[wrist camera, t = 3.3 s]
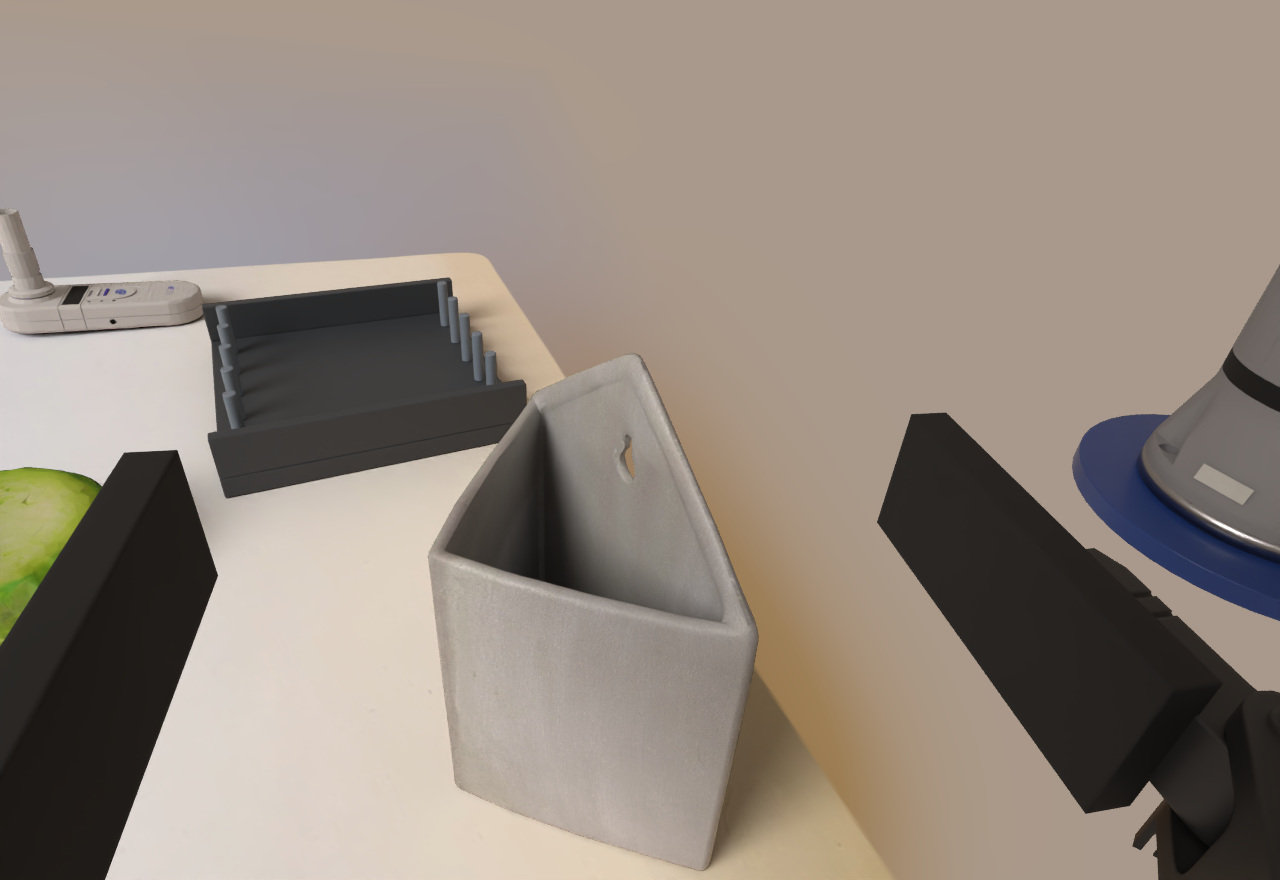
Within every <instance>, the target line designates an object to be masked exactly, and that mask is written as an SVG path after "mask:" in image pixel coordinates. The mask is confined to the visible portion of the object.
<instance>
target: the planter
mask: <svg viewBox="0 0 1280 880" xmlns="http://www.w3.org/2000/svg"><path fill="white" fill-rule="evenodd" d="M631 439H632V458H633V462H634V468H635V477H634V478H633V477H632V475H631V474H630V472H629V470H628V467H627V464H626V460H625V452H626V450H627V449H628V448H629V447H630V441H631ZM428 561H429V569H430V577H431V585H432V593H433V602H434V611H435V619H436V628H437V637H438V645H439V654H440V662H441V671H442V680H443V688H444V696H445V704H446V712H447V719H448V727H449V735H450V743H451V751H452V759H453V768H454V777H455V783H456V785H457V787H459V788H460V789H462V790H464V791H467V792H469V793H471V794H473V795H476V796H478V797H480V798H483V799H485V800H487V801H489V802H492V803H494V804H496V805H499V806H501V807H503V808H505V809H508V810H510V811H512V812H515V813H518V814H521V815H524V816H526V817H529V818H532V819H535V820H538V821H541V822H544V823H546V824H549V825H552V826H555V827H558V828H561V829H564V830H566V831H569V832H572V833H575V834H578V835H581V836H583V837H587V838H590V839H593V840H597V841H600V842H603V843H607V844H610V845H613V846H617V847H620V848H623V849H627V850H630V851H633V852H637V853H640V854H643V855H647V856H650V857H653V858H657V859H660V860H664V861H667V862H671V863H674V864H678V865H681V866H685V867H688V868H692V869H695V870H699V871H703V870H705V869H706V868H707V867H708V866H709V864H710V860H711V856H712V851H713V847H714V843H715V838H716V834H717V829H718V825H719V821H720V816H721V812H722V807H723V803H724V799H725V794H726V790H727V785H728V781H729V776H730V772H731V768H732V763H733V759H734V754H735V750H736V746H737V741H738V737H739V732H740V728H741V723H742V719H743V715H744V710H745V706H746V701H747V697H748V692H749V688H750V684H751V679H752V674H753V668H754V662H755V656H756V651H757V645H758V632H757V631H758V630H757V626H756V623H755V620H754V617H753V615H752V613H751V610H750V608H749V606H748V603H747V601H746V598H745V596H744V594H743V592H742V589H741V587H740V584H739V582H738V579H737V577H736V574H735V572H734V569H733V566H732V564H731V562H730V559H729V556H728V554H727V551H726V549H725V547H724V544H723V541H722V539H721V536H720V534H719V532H718V529H717V526H716V524H715V522H714V519H713V517H712V515H711V513H710V510H709V508H708V506H707V503H706V501H705V499H704V496H703V494H702V492H701V490H700V487H699V485H698V483H697V480H696V478H695V476H694V473H693V471H692V469H691V466H690V464H689V462H688V459H687V457H686V455H685V452H684V450H683V448H682V446H681V443H680V441H679V439H678V436H677V434H676V432H675V429H674V427H673V425H672V422H671V420H670V418H669V416H668V413H667V411H666V409H665V407H664V404H663V402H662V399H661V397H660V395H659V393H658V390H657V388H656V386H655V384H654V382H653V379H652V377H651V375H650V373H649V371H648V369H647V367H646V365H645V363H644V361H643V359H642V358H641V356H640V355H638V354H635V353H630V354H626V355H623V356H620V357H618V358H615V359H613V360H610V361H607V362H605V363H602V364H600V365H597V366H595V367H592V368H590V369H587V370H584V371H582V372H579V373H577V374H574V375H572V376H570V377H567V378H565V379H563V380H561V381H559V382H557V383H555V384H553V385H550V386H548V387H545V388H543V389H541V390H538V391H537V392H536V393H535V394H534V395H533V397H532V398H531V399H530V401H529V402H528V404H527V405H526V407H525V408H524V410H523V411H522V413H521V414H520V415H519V417H518V418H517V420H516V421H515V422H514V423H513V425H512V426H511V427H510V429H509V430H508V431H507V433H506V434H505V435H504V437H503V438H502V439H501V441H500V442H499V443H498V445H497V446H496V447H495V449H494V450H493V451H492V452H491V454H490V455H489V456H488V458H487V459H486V461H485V462H484V464H483V465H482V466H481V468H480V469H479V471H478V472H477V474H476V475H475V476H474V478H473V479H472V481H471V482H470V484H469V485H468V486H467V488H466V489H465V491H464V492H463V494H462V495H461V496H460V498H459V499H458V501H457V502H456V504H455V505H454V507H453V509H452V511H451V513H450V514H449V516H448V518H447V520H446V522H445V524H444V525H443V527H442V529H441V531H440V533H439V535H438V536H437V538H436V540H435V542H434V544H433V545H432V547H431V549H430V551H429V555H428Z"/></svg>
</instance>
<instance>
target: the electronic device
mask: <svg viewBox="0 0 1280 880" xmlns="http://www.w3.org/2000/svg"><path fill="white" fill-rule="evenodd" d="M0 242H1V245H2V248H3V251H2V253H3V256H4V258H5V261H6V264H7V266H8V269H9V271H10V274H12V280H13V282H14V285H13V286H11V287H10V288H9V289H8V292H6V293H4V294H3V295H1V296H0V318H1V320H2V323H3V326H4V327H5V328H6V329H8V330H10V331H12V332H16V333H28V334H33V333H50V332H66V331H67V332H68V331H85V330H102V329H119V328H136V327H146V326H163V325H167V326H170V325H179V324H184V323H188V322H191V321H193V320H196V319H198V318H199V317H201V316H202V315H203V310H202V304H204V302H203V298H202V294H201V290H200V288H199V287H198V286H197V285H195V284H193V283H190V282H185V281H153V282H151V281H150V282H127V283H101V284H77V285H53V284H52V283H50V282H47V281H44V280H43V277H42V274H41V273H40V272H39V271H40V268H39V265H38V262H37V259H36V256H35V253H34V251H33V248H32V247H30V244H29V242H28V238H27V235H26V233H25V230H24V227H23V224H22V221H21V218H20V215H19V212H18V211H17V210H16V209H9V208H8V209H0Z"/></svg>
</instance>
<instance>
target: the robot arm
mask: <svg viewBox="0 0 1280 880" xmlns="http://www.w3.org/2000/svg"><path fill="white" fill-rule="evenodd" d="M1137 468H1138V472H1139V474H1140V476H1141V479H1142V480H1143V482H1144V483H1145V485H1146V486H1147V487H1148V489H1149V490H1150V491H1151V492H1152V493H1153V494H1154V495H1155V496H1156V497H1157V499H1159V500H1160V501H1161V502H1162V503H1163V504H1164V505H1165V506H1166V507H1168V508H1169V509H1170V510H1171V511H1173V512H1174V513H1175V514H1177V515H1178V516H1179V517H1181V518H1182V519H1184V520H1185V521H1187V522H1188V523H1190V524H1191V525H1193V526H1195V527H1196V528H1198V529H1200V530H1201V531H1203V532H1205V533H1207V534H1208V535H1210V536H1212V537H1214V538H1216V539H1218V540H1220V541H1222V542H1224V543H1226V544H1228V545H1230V546H1232V547H1235V548H1237V549H1239V550H1242V551H1244V552H1246V553H1249V554H1251V555H1254V556H1257V557H1259V558H1262V559H1265V560H1268V561H1271V562H1274V563H1277V564H1280V265H1279V267H1278V269H1277V271H1276V272H1275V274H1274V276H1273V278H1272V279H1271V281H1270V283H1269V285H1268V286H1267V288H1266V290H1265V291H1264V293H1263V295H1262V297H1261V298H1260V300H1259V302H1258V303H1257V305H1256V307H1255V309H1254V310H1253V312H1252V314H1251V316H1250V317H1249V319H1248V321H1247V323H1246V324H1245V326H1244V328H1243V329H1242V331H1241V333H1240V335H1239V336H1238V338H1237V340H1236V341H1235V343H1234V345H1233V347H1232V349H1231V351H1230V353H1229V354H1228V356H1227V358H1226V360H1225V361H1224V364H1223V365H1222V367H1221V368H1220V370H1219V372H1218V373H1217V374H1216V375H1215V376H1214V377H1213V378H1212V379H1211V380H1210V381H1209V382H1208V383H1207V384H1205V385H1204V386H1203V387H1202V388H1201V389H1200V390H1199V391H1198V392H1196V393H1195V394H1194V395H1193V396H1192V397H1191V398H1190V399H1189V400H1187V402H1185V403H1184V404H1183V405H1182V406H1181V407H1180V408H1178V409H1177V410H1176V411H1175V412H1174V413H1173V414H1172V415H1171V416H1169V417H1168V418H1167V419H1166V420H1165V421H1164V422H1163V423H1161V424H1160V425H1159V426H1158V427H1157V428H1156V429H1155V430H1154V432H1153V433H1152V434H1151V436H1150V437H1149V438H1148V439H1147V441H1146V443H1145V445H1144V446H1143V448H1142V450H1141V452H1140V454H1139V456H1138V459H1137ZM877 523H878V524H879V526H880V527H881V528H882V530H883V531H884V532H885V534H886V535H887V537H888V538H889V540H890V541H891V542H892V544H893V545H894V547H895V548H896V549H897V551H898V552H899V554H900V555H901V556H902V558H903V559H904V561H905V562H906V563H907V565H908V566H909V568H910V569H911V570H912V572H913V573H914V575H915V576H916V577H917V579H918V580H919V582H920V583H921V584H922V586H923V587H924V588H925V590H926V591H927V593H928V594H929V595H930V597H931V598H932V600H933V601H934V602H935V604H936V605H937V607H938V608H939V609H940V611H941V612H942V614H943V615H944V616H945V618H946V619H947V621H948V622H949V623H950V625H951V626H952V628H953V629H954V630H955V632H956V633H957V635H958V636H959V637H960V639H961V640H962V642H963V643H964V644H965V646H966V647H967V649H968V650H969V651H970V653H971V654H972V656H973V657H974V658H975V660H976V661H977V663H978V664H979V665H980V667H981V668H982V670H983V671H984V672H985V674H986V675H987V676H988V678H989V679H990V681H991V682H992V683H993V685H994V686H995V688H996V689H997V690H998V692H999V693H1000V695H1001V696H1002V698H1003V699H1004V700H1005V702H1006V703H1007V704H1008V706H1009V707H1010V709H1011V710H1012V711H1013V713H1014V714H1015V716H1016V717H1017V718H1018V720H1019V721H1020V723H1021V724H1022V725H1023V727H1024V728H1025V730H1026V731H1027V732H1028V734H1029V735H1030V737H1031V738H1032V739H1033V741H1034V742H1035V744H1036V745H1037V746H1038V748H1039V749H1040V751H1041V752H1042V753H1043V755H1044V756H1045V758H1046V759H1047V760H1048V762H1049V763H1050V764H1051V766H1052V767H1053V769H1054V770H1055V771H1056V773H1057V774H1058V776H1059V777H1060V779H1061V780H1062V781H1063V783H1064V784H1065V786H1066V787H1067V788H1068V790H1069V791H1070V793H1071V794H1072V795H1073V797H1074V798H1075V800H1076V801H1077V802H1078V804H1079V805H1080V807H1081V808H1082V809H1083V811H1084V812H1085V813H1086V814H1087V813H1092V812H1098V811H1103V810H1109V809H1114V808H1120V807H1126V806H1130V805H1131V803H1132V802H1133V801H1134V800H1135V798H1136V797H1137V796H1138V794H1139V793H1140V792H1141V791H1142V789H1143V788H1144V787H1145V785H1146V784H1147V783H1148V781H1150V782H1151V783H1152V784H1153V786H1154V787H1155V788H1156V789H1157V791H1158V792H1159V793H1160V794H1161V795H1162V797H1163V798H1164V800H1163V801H1162V802H1161V803H1160V805H1159V806H1158V807H1157V808H1156V810H1155V811H1154V812H1153V813H1152V815H1151V816H1150V817H1149V819H1148V820H1147V821H1146V822H1145V823H1144V825H1143V826H1142V827H1141V828H1140V830H1139V831H1138V832H1137V833H1136V835H1135V839H1134V842H1133V847H1135V848H1137V849H1139V850H1141V849H1142V848H1143V847H1144V846H1145V844H1146V843H1147V842H1148V841H1149V840H1150V838H1151V837H1152V836H1153V835H1154V834H1156V838H1157V850H1156V851H1155V852H1154V853H1153V856H1155V857H1157V859H1158V877H1159V878H1158V879H1159V880H1280V693H1279V692H1275V691H1257V690H1256V689H1254V688H1253V687H1252V686H1251V685H1250V684H1249V683H1248V682H1247V681H1246V680H1244V679H1243V678H1242V677H1241V676H1240V675H1239V674H1238V673H1237V672H1236V671H1235V670H1234V669H1233V668H1232V667H1231V666H1230V665H1228V664H1227V663H1226V662H1225V661H1224V660H1223V659H1222V658H1221V657H1220V656H1219V655H1218V654H1217V653H1216V652H1215V651H1214V650H1213V649H1211V647H1209V645H1207V644H1206V643H1205V642H1204V641H1203V640H1202V639H1201V638H1200V637H1199V636H1198V635H1197V634H1196V633H1195V632H1194V631H1193V630H1191V628H1189V627H1188V626H1187V625H1186V624H1185V623H1184V622H1183V621H1182V620H1181V619H1180V618H1179V617H1178V616H1173V615H1172V613H1171V612H1172V610H1170V609H1169V608H1168V607H1167V606H1166V605H1165V604H1164V603H1163V602H1162V601H1161V600H1160V599H1159V598H1158V597H1157V596H1154V597H1153V596H1152V595H1151V591H1150V590H1149V589H1148V588H1147V587H1146V586H1145V585H1144V584H1143V583H1142V582H1141V581H1140V580H1139V579H1137V577H1136V576H1134V575H1133V574H1132V573H1131V572H1130V571H1129V570H1128V569H1127V568H1126V567H1124V566H1123V565H1121V564H1119V563H1118V562H1116V561H1114V560H1113V559H1111V558H1110V557H1108V556H1106V555H1105V554H1103V553H1101V552H1100V551H1098V550H1096V549H1095V548H1092V549H1085V548H1084V547H1083V546H1082V545H1081V544H1080V543H1079V542H1078V541H1077V540H1076V539H1075V538H1074V537H1073V536H1072V535H1071V534H1070V533H1068V531H1067V530H1066V529H1065V528H1063V526H1061V524H1059V523H1058V522H1057V521H1056V520H1055V519H1054V518H1053V517H1052V516H1051V515H1050V514H1049V513H1048V512H1047V511H1046V510H1045V509H1044V508H1043V507H1042V506H1041V505H1040V504H1039V503H1038V502H1037V501H1036V500H1035V499H1034V498H1033V497H1032V496H1031V495H1030V494H1029V493H1028V492H1026V490H1025V489H1024V488H1023V487H1022V486H1021V485H1020V484H1018V482H1016V481H1015V480H1014V479H1013V478H1012V477H1011V476H1010V475H1009V474H1008V473H1007V472H1006V471H1005V470H1004V469H1003V468H1002V467H1001V466H1000V465H999V464H998V463H997V462H996V461H995V460H994V459H993V458H992V457H991V456H990V455H989V454H988V453H987V452H986V451H985V450H984V449H983V448H982V447H981V446H980V445H979V444H978V443H977V442H976V441H975V440H974V439H972V438H971V437H970V436H969V435H968V434H967V433H966V432H965V431H964V430H963V429H962V428H961V427H960V426H959V425H958V424H957V423H956V422H955V421H954V420H953V419H952V418H951V417H950V416H949V415H948V414H947V413H929V414H912V415H911V417H910V421H909V424H908V427H907V430H906V433H905V436H904V439H903V442H902V446H901V449H900V452H899V455H898V458H897V461H896V464H895V468H894V471H893V474H892V477H891V480H890V483H889V487H888V490H887V493H886V496H885V499H884V502H883V505H882V509H881V512H880V515H879V518H878V521H877ZM217 577H218V574H217V571H216V568H215V565H214V562H213V559H212V556H211V553H210V549H209V546H208V543H207V540H206V537H205V534H204V531H203V528H202V525H201V522H200V519H199V516H198V512H197V509H196V506H195V503H194V500H193V497H192V494H191V491H190V488H189V485H188V482H187V479H186V475H185V472H184V469H183V466H182V463H181V460H180V457H179V454H178V451H177V450H170V451H150V452H129V453H124V454H123V455H122V457H121V458H120V460H119V462H118V463H117V465H116V466H115V468H114V469H113V471H112V472H111V474H110V476H109V477H108V479H107V480H106V482H105V483H104V485H103V486H102V488H101V490H100V491H99V493H98V494H97V496H96V497H95V499H94V501H93V502H92V504H91V505H90V507H89V508H88V510H87V511H86V513H85V515H84V516H83V518H82V519H81V521H80V522H79V524H78V525H77V527H76V529H75V530H74V532H73V533H72V535H71V536H70V538H69V540H68V541H67V543H66V544H65V546H64V547H63V549H62V550H61V552H60V554H59V555H58V557H57V558H56V560H55V561H54V563H53V564H52V566H51V568H50V569H49V571H48V572H47V574H46V575H45V577H44V579H43V580H42V582H41V583H40V585H39V586H38V588H37V589H36V591H35V593H34V594H33V596H32V597H31V599H30V600H29V602H28V603H27V605H26V607H25V608H24V610H23V611H22V613H21V614H20V616H19V618H18V619H17V621H16V622H15V624H14V625H13V627H12V628H11V630H10V632H9V633H8V635H7V636H6V638H5V639H4V641H3V642H2V644H1V646H0V880H105V878H106V875H107V873H108V870H109V867H110V865H111V862H112V859H113V857H114V854H115V851H116V848H117V846H118V843H119V840H120V838H121V835H122V832H123V830H124V827H125V824H126V822H127V819H128V816H129V814H130V811H131V808H132V805H133V803H134V800H135V797H136V795H137V792H138V789H139V787H140V784H141V781H142V779H143V776H144V773H145V771H146V768H147V765H148V762H149V760H150V757H151V754H152V752H153V749H154V746H155V744H156V741H157V738H158V736H159V733H160V730H161V727H162V725H163V722H164V719H165V717H166V714H167V711H168V709H169V706H170V703H171V701H172V698H173V695H174V693H175V690H176V687H177V684H178V682H179V679H180V676H181V674H182V671H183V668H184V666H185V663H186V660H187V658H188V655H189V652H190V650H191V647H192V644H193V641H194V639H195V636H196V633H197V631H198V628H199V625H200V623H201V620H202V617H203V615H204V612H205V609H206V606H207V604H208V601H209V598H210V596H211V593H212V590H213V588H214V585H215V582H216V580H217Z"/></svg>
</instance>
